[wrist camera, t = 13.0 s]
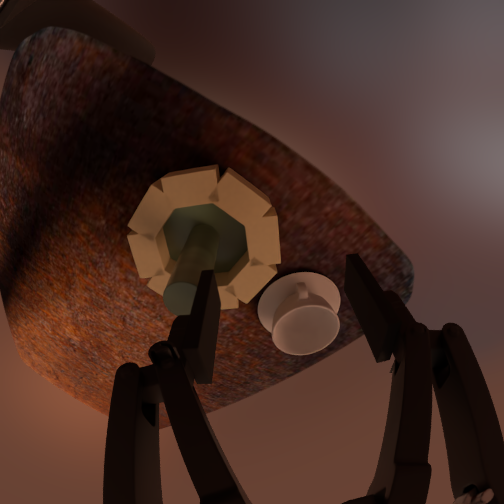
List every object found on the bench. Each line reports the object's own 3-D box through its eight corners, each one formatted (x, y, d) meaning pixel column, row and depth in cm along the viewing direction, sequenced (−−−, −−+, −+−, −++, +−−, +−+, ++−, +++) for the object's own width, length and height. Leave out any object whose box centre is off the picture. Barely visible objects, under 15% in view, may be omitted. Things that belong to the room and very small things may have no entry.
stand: (155, 197, 26) (103, 246, 15) (244, 183, 25) (245, 228, 15) (174, 274, 30) (145, 349, 19) (254, 266, 29) (260, 344, 19)
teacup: (337, 328, 34) (347, 353, 30) (263, 340, 34) (265, 367, 30) (339, 263, 29) (353, 286, 25) (251, 276, 30) (252, 302, 26)
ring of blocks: (125, 181, 23) (113, 188, 21) (269, 157, 23) (272, 161, 20) (159, 300, 29) (153, 314, 27) (280, 288, 29) (283, 303, 27)
